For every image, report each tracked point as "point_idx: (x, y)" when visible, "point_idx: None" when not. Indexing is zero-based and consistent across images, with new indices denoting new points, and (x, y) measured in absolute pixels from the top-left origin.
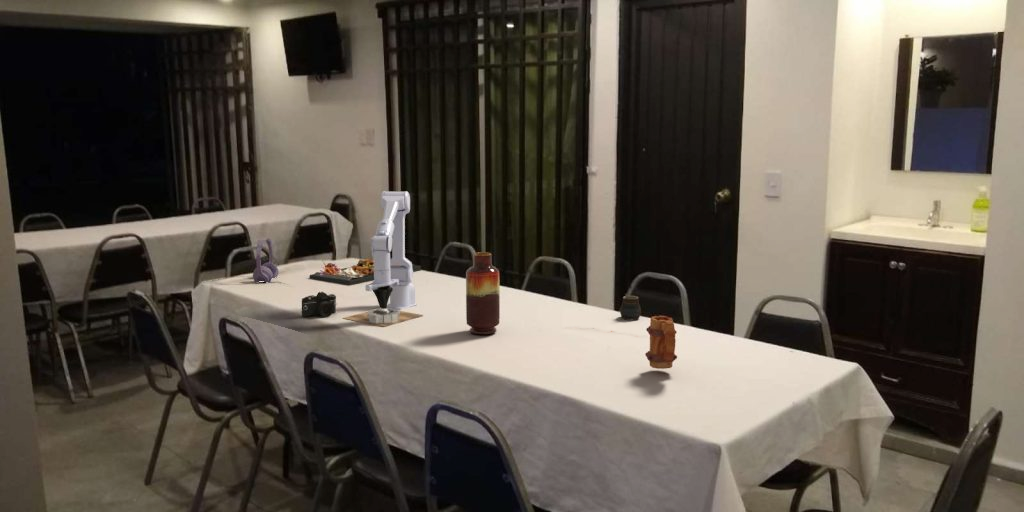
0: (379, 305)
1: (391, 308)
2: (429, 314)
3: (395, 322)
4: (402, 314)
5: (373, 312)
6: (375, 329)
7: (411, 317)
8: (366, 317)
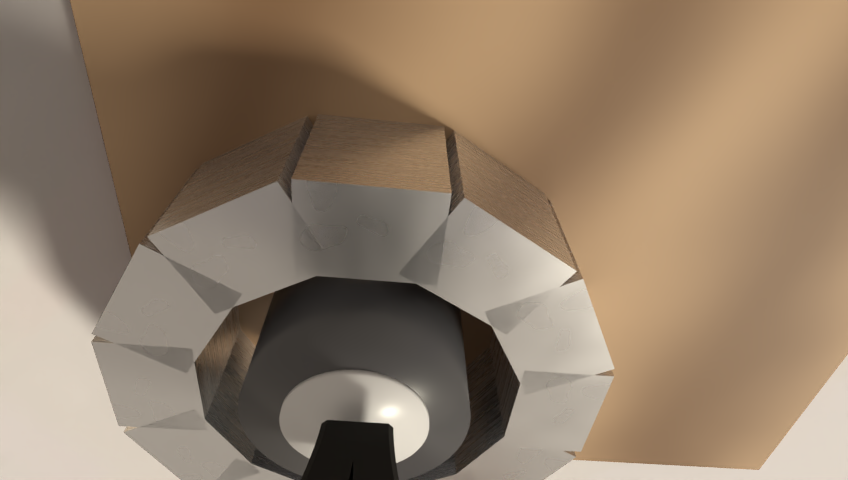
0: (309, 462)
1: (608, 380)
2: (837, 465)
3: None
4: (738, 324)
5: (280, 278)
6: (54, 420)
7: (616, 449)
8: (358, 5)
